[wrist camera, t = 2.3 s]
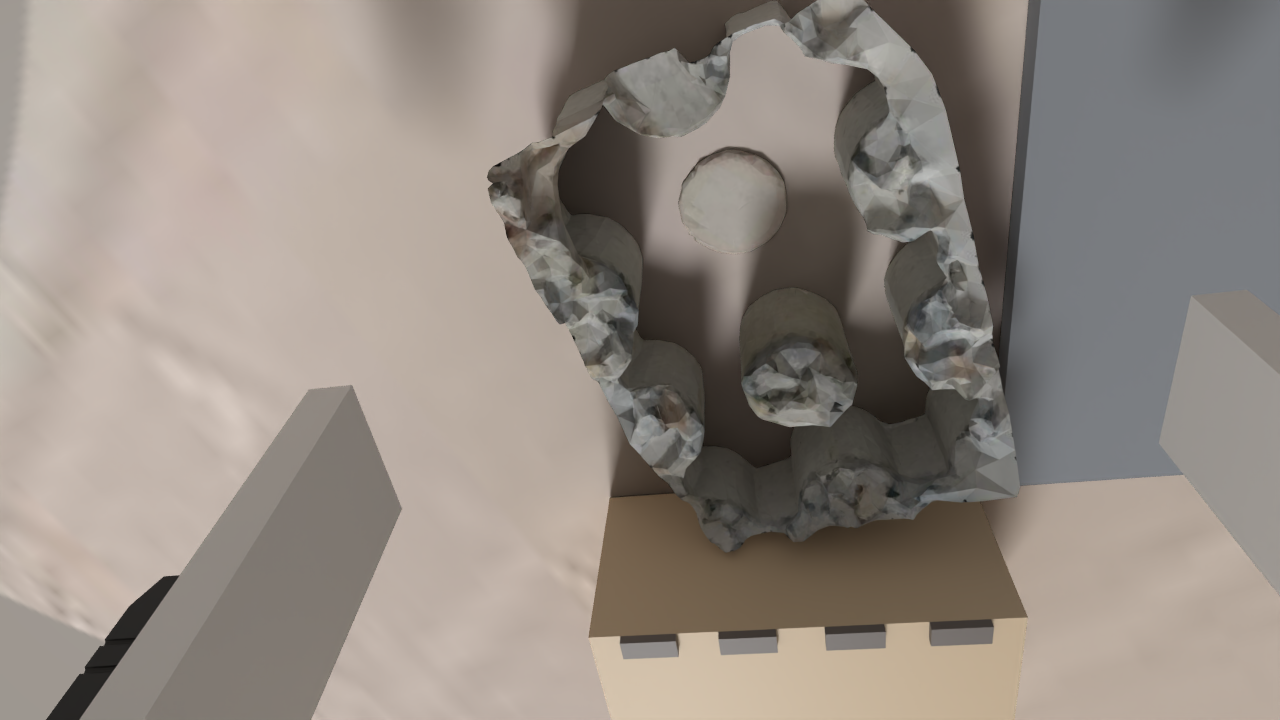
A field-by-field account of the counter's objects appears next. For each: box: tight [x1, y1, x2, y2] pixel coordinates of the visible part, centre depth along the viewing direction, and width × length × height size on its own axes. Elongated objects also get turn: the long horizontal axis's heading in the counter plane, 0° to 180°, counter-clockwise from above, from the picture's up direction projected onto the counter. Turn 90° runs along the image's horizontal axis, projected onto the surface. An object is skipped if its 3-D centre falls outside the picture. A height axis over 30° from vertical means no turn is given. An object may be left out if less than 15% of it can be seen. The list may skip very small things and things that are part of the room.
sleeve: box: [589, 493, 1028, 720], centre depth 20 cm, size 9×6×5 cm, turn 99°
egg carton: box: [487, 0, 1020, 553], centre depth 16 cm, size 11×8×4 cm
